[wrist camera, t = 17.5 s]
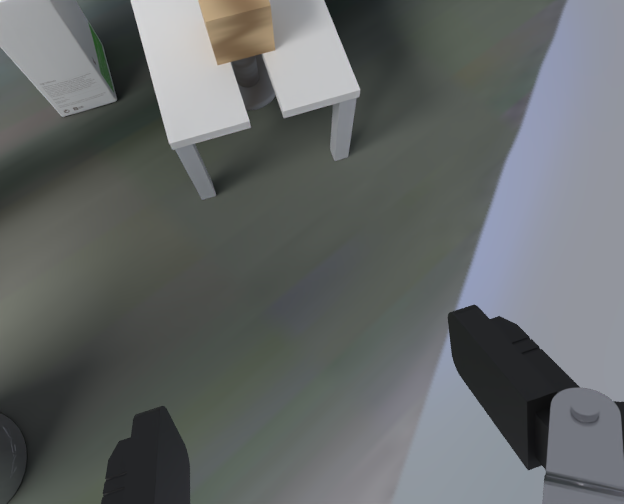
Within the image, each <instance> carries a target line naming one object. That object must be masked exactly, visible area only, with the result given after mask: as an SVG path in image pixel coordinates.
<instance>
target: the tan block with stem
mask: <svg viewBox="0 0 624 504" xmlns="http://www.w3.org/2000/svg"><path fill="white" fill-rule="evenodd" d="M198 2H199V5H200V9H201V12H202V16H203V19H204V23H205V26H206V29H207V33H208V36H209V39H210V42H211V46H212V49H213V52H214V55H215V59H216V62H217V65H221V64H225V63H229V62H231V65H232V68H233V72H234V75H235V78H236V81H237V84H238V87H239V90H240V93H241V96H242V99H243V102H244V105H245V109H246V111H250V110H256V109H260V108H262V107H264V106H266V105H267V104H269V103H270V102H271V101H272V100H273V99H274V98H275V96H276V95H275V92H274V89H273V86H272V83H271V80H270V77H269V75H268V72H267V69H266V66H265V63H264V60H263V57H262V54H263V53H267V52H270V51H274V50H275V42H274V33H273V23H272V14H271V5H270V2H269V0H198Z"/></svg>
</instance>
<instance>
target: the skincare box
mask: <svg viewBox="0 0 624 504" xmlns="http://www.w3.org/2000/svg"><path fill="white" fill-rule="evenodd" d="M0 47H1V48H2V49H3V51H4V52H5V53H6V54H7V55H8V56H9V57H10V58H11V59H12V61H13V62H14V63H15V64H16V65H17V66H18V67H19V68H20V70H21V71H22V72H23V73H24V74H25V75H26V76H27V78H28V79H29V80H30V81H31V82H32V83H33V84H34V85H35V87H36V88H37V89H38V90H39V91H40V92H41V93H42V94H43V96H44V97H45V98H46V99H47V100H48V101H49V102H50V103H51V105H52V106H53V107H54V108H55V109H56V110H57V111H58V113H59V114H60V115H61V116H62V117H64V116H68V115H72V114H75V113H79V112H82V111H86V110H89V109H92V108H96V107H99V106H102V105H106V104H109V103H112V102H115V101H117V97H116V93H115V90H114V85H113V81H112V77H111V74H110V70H109V67H108V63H107V59H106V55H105V51H104V47H103V44H102V43H101V41H100V39H99V38H98V36H97V34H96V33H95V31H94V30H93V28H92V26H91V25H90V23H89V21H88V20H87V18H86V16H85V15H84V13H83V12H82V10H81V8H80V7H79V5H78V3H77V2H76V0H0Z"/></svg>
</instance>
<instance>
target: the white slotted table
mask: <svg viewBox="0 0 624 504" xmlns="http://www.w3.org/2000/svg"><path fill="white" fill-rule="evenodd" d="M269 2H270V5H271V14H272V23H273V33H274V42H275V50H274V51H270V52H267V53H263V54H262V57H263V60H264V63H265V66H266V69H267V72H268V75H269V77H270V80H271V83H272V86H273V89H274V92H275V95H276V98H277V101H278V103H279V106H280V109H281V112H282V115H283V118H287V117H290V116H294V115H297V114H301V113H304V112H308V111H311V110H315V109H319V108H322V107H326V106H329V105H333V111H332V126H331V140H330V150H331V153H332V156H333V159H334V161H337V160H340V159H344V158H347V157H348V154H349V147H350V140H351V134H352V127H353V120H354V113H355V106H356V99H357V97H359V95H360V88H359V85H358V83H357V81H356V78H355V76H354V73H353V71H352V68H351V66H350V63H349V61H348V58H347V56H346V53H345V51H344V48H343V46H342V43H341V41H340V38H339V36H338V33H337V31H336V28H335V26H334V24H333V21H332V19H331V16H330V14H329V11H328V9H327V6H326V4H325V1H324V0H269ZM131 4H132V8H133V11H134V15H135V19H136V22H137V26H138V30H139V34H140V37H141V41H142V45H143V48H144V52H145V56H146V60H147V63H148V67H149V71H150V74H151V78H152V82H153V86H154V89H155V93H156V97H157V100H158V104H159V108H160V112H161V115H162V119H163V123H164V126H165V130H166V134H167V138H168V141H169V144H170V146H171V148H172V150H174V149H175V151H176V153H177V154H178V156H179V158H180V160H181V162H182V164H183V165H184V167H185V169H186V171H187V173H188V175H189V177H190V178H191V180H192V182H193V184H194V186H195V188H196V189H197V191H198V193H199V195H200V197H201V199H202V200H204V199H207V198H211V197H214V196H216V192H215V189H214V186H213V182H212V180H211V178H210V176H209V174H208V171H207V169H206V167H205V165H204V162H203V160H202V158H201V156H200V154H199V151H198V149H197V147H196V145H195V143H199V142H202V141H206V140H209V139H213V138H216V137H220V136H223V135H227V134H230V133H234V132H237V131H241V130H244V129H248V128H251V125H250V121H249V118H248V115H247V112H246V109H245V105H244V102H243V99H242V96H241V93H240V90H239V87H238V84H237V81H236V78H235V75H234V72H233V68H232V65H231V62H229V63H225V64H221V65H217V62H216V59H215V55H214V52H213V49H212V46H211V42H210V39H209V36H208V33H207V29H206V26H205V23H204V19H203V16H202V12H201V9H200V5H199V2H198V0H131Z"/></svg>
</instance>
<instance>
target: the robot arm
mask: <svg viewBox="0 0 624 504" xmlns="http://www.w3.org/2000/svg"><path fill="white" fill-rule="evenodd" d="M448 324H449V333H450V342H451V351H452V357H453V361H454V364H455V366H456V368H457V371H458V373H459V374H460V376H461V377H462V379H463V380H464V382H465V383H466V385H467V386H468V387H469V389H470V390H471V392H472V393H473V394H474V396H475V397H476V399H477V400H478V401H479V403H480V404H481V405H482V407H483V408H484V410H485V411H486V412H487V414H488V415H489V417H490V418H491V419H492V421H493V422H494V424H495V425H496V426H497V428H498V429H499V430H500V432H501V433H502V435H503V436H504V437H505V439H506V440H507V442H508V443H509V444H510V446H511V447H512V449H513V450H514V451H515V453H516V454H517V455H518V457H519V458H520V459H521V461H522V462H523V464H524V465H525V467H526V468H527V469H528V470H530V469H533V468H536V467H539V466H541V465H542V466H543V467H544V468H545V470H546V475H545V478H544V490H543V504H624V402H614V401H612V400H611V399H610V398H609V397H607V396H606V395H604V394H602V393H600V392H598V391H595V390H591V389H587V388H580V387H579V386H578V385H577V384H576V383H575V382H574V381H573V380H572V379H571V378H570V377H569V376H568V375H567V374H566V373H565V372H564V371H563V370H562V369H561V368H560V367H559V366H558V365H557V364H556V363H555V362H554V361H553V360H552V359H551V358H550V357H549V356H548V355H547V354H546V353H545V352H544V351H543V350H542V349H541V350H540V348H539V346H538V345H537V344H536V343H535V342H534V341H533V340H532V339H531V340H530V338H529V336H528V335H527V334H526V333H525V332H524V331H523V330H522V329H521V328H520V327H519V326H518V325H517V324H515V323H513V322H510V321H508V320H506V319H504V318H502V317H500V316H498V317H495V318H493V319H489V318H488V317H487V316H486V315H485V314H484V313H483V312H482V310H481V309H479V308H478V307H477V306H476V305H472V306H469V307H465V308H462V309H459V310H456V311H453V312H450V313H449V314H448ZM26 462H27V451H26V445H25V441H24V437H23V435H22V433H21V431H20V429H19V428H18V426H17V425H16V424H15V423H14V422H13V421H12V420H11V419H9V418H8V417H6V416H5V415H3V414H1V413H0V504H7V503H8V501H9V500H10V499H11V498H12V497H13V495H14V494H15V492H16V491H17V489H18V487H19V485H20V484H21V481H22V478H23V475H24V473H25V468H26ZM105 479H106V482H105V484H104V490H103V496H104V497H103V498H102V502H101V504H190V464H189V457H188V453H187V449H186V447H185V444H184V442H183V440H182V438H181V436H180V434H179V432H178V430H177V428H176V426H175V424H174V422H173V420H172V418H171V416H170V414H169V413H168V411H167V409H166V408H165V407H164V406H161V407H157V408H154V409H151V410H148V411H145V412H142V413H139V414H136V415H135V416H134V418H133V425H132V433H131V437H130V438H127V439H124V440H121V441H119V442H118V444H117V446H116V448H115V449H114V451H113V453H112V455H111V456H110V458H109V460H108V466H107V472H106V478H105Z"/></svg>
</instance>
